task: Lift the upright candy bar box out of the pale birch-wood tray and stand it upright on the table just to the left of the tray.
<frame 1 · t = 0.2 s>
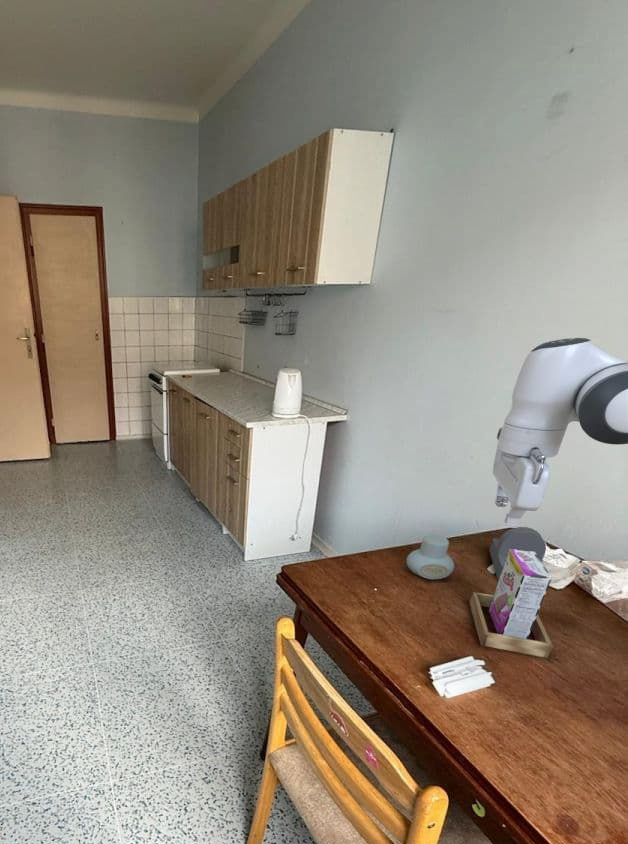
hand: (505, 514, 88), 27 cm above the table, tool pointing down, fingers open, 8 cm apart
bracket: (513, 567, 125), on the table
candy bar box: (504, 628, 102), resting in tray
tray: (505, 627, 102), on the table
air freshener: (427, 574, 122), on the table
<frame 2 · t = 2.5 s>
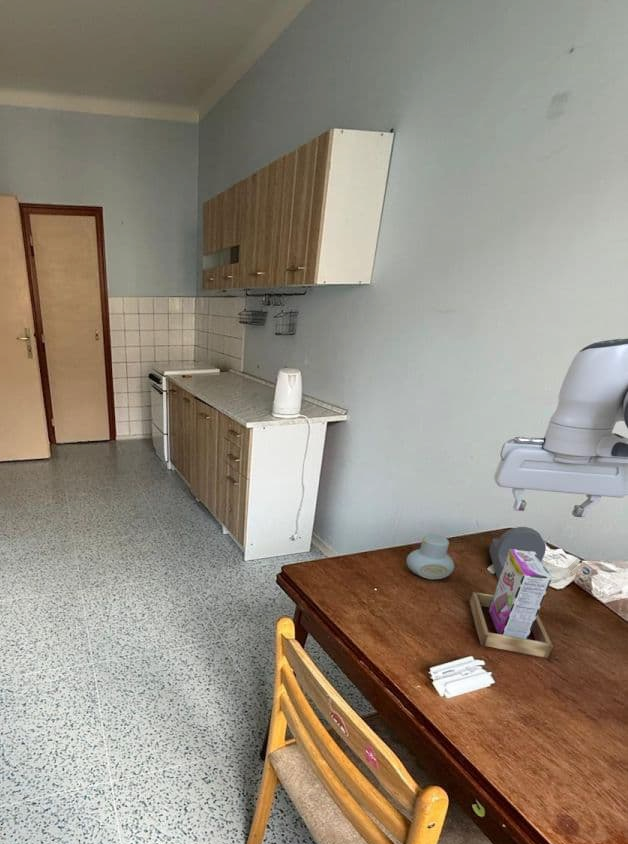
hand: (547, 512, 89), 27 cm above the table, tool pointing down, fingers open, 8 cm apart
nothing on the table moved.
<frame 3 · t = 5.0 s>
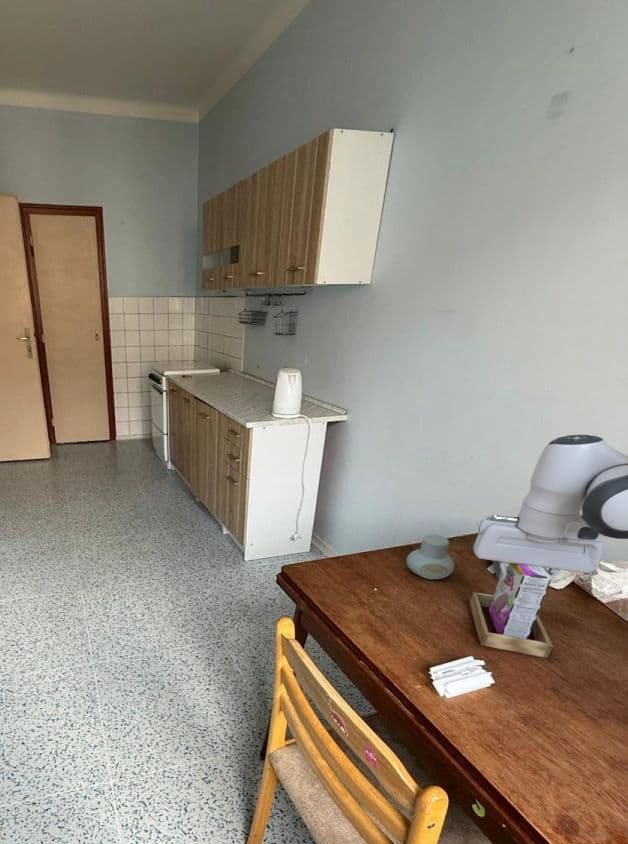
hand: (522, 582, 96), 12 cm above the table, tool pointing down, fingers closed on candy bar box, 5 cm apart
candy bar box: (504, 628, 102), resting in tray, touching gripper
everything else where it was.
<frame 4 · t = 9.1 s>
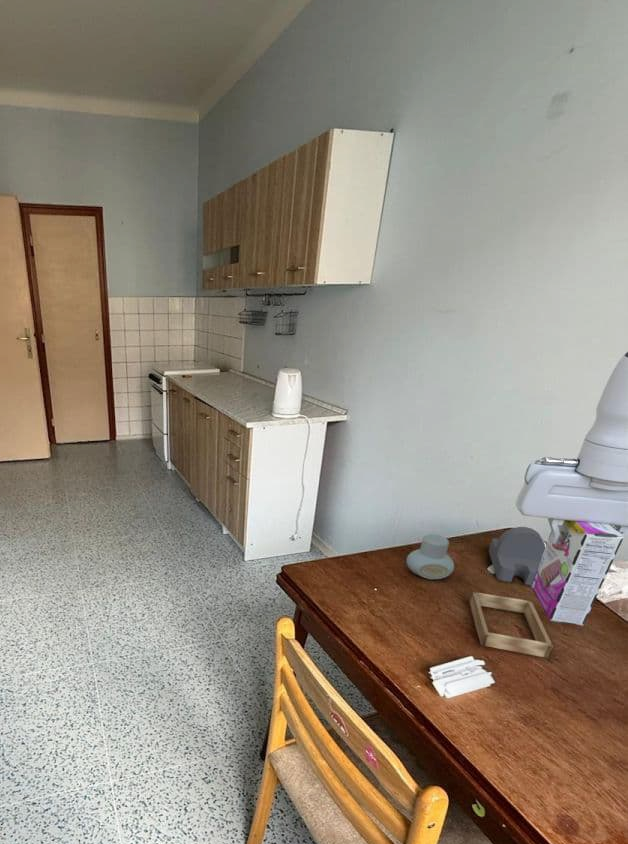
hand: (579, 545, 75), 28 cm above the table, tool pointing down, fingers closed on candy bar box, 5 cm apart
candy bar box: (553, 606, 81), point 16 cm above the table, touching gripper
everything else where it was.
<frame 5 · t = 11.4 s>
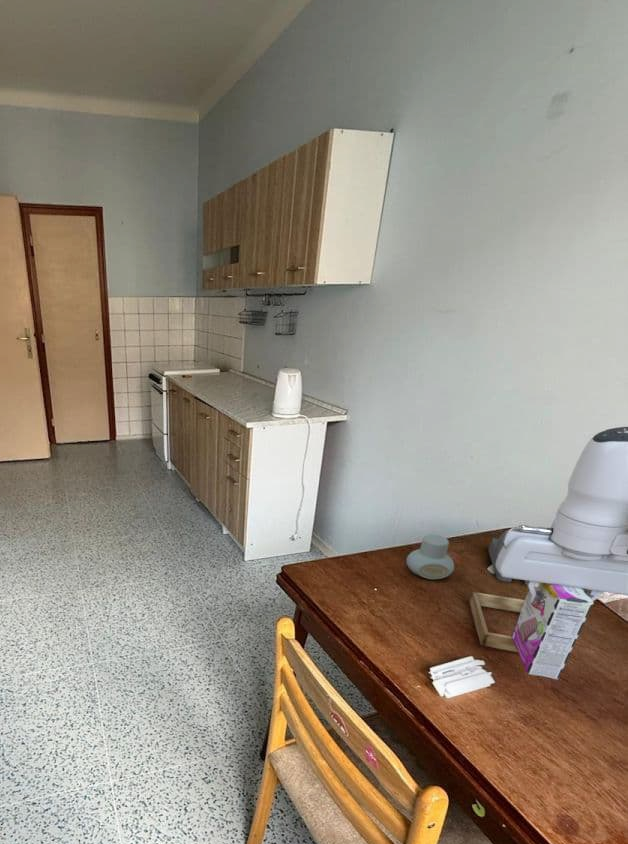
hand: (554, 605, 80), 17 cm above the table, tool pointing down, fingers closed on candy bar box, 5 cm apart
candy bar box: (531, 658, 86), point 5 cm above the table, touching gripper
everything else where it was.
when the fingers open (12 cm above the table, at t = 13.2 s): candy bar box stays where it is, on the table.
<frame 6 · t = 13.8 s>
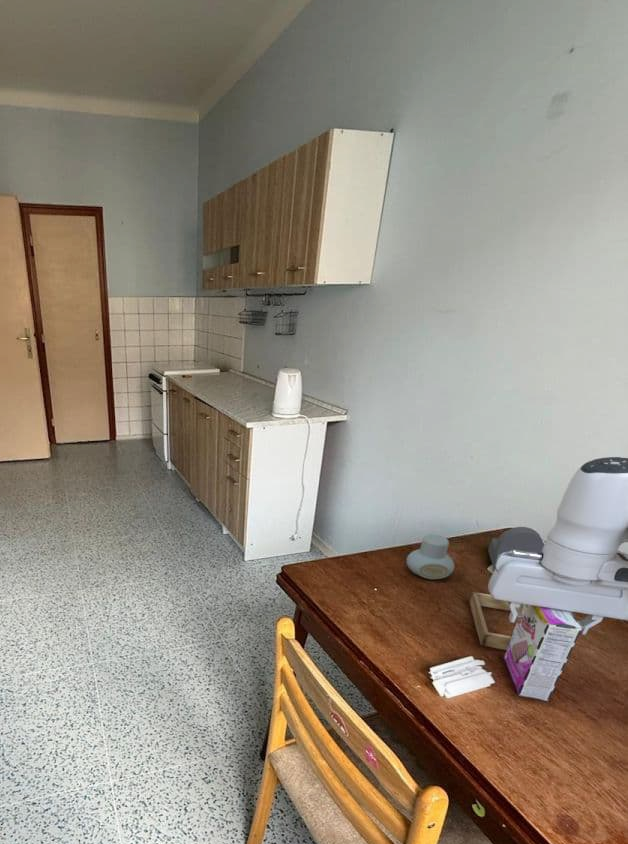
hand: (545, 626, 83), 12 cm above the table, tool pointing down, fingers open, 8 cm apart
candy bar box: (523, 679, 88), on the table
everything else where it was.
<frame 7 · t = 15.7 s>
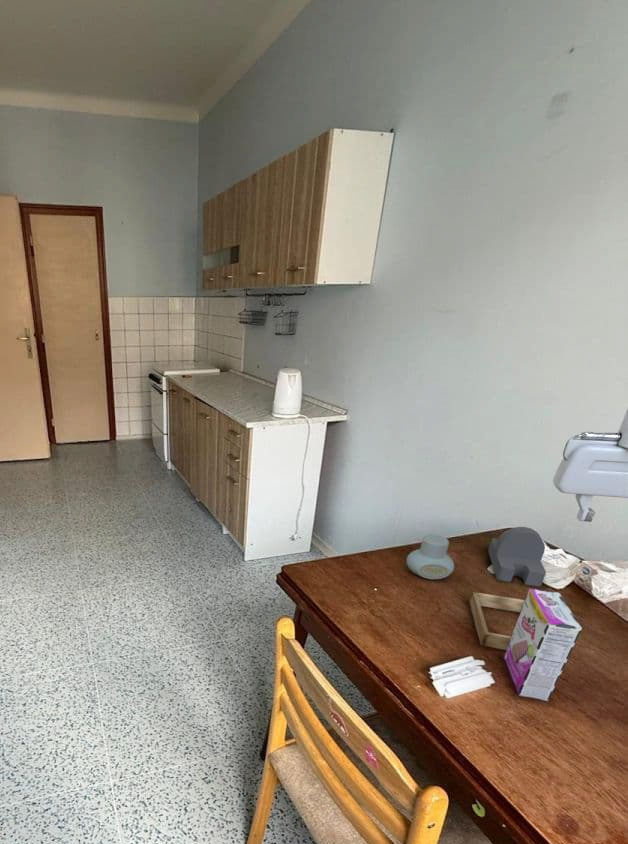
hand: (620, 523, 73), 32 cm above the table, tool pointing down, fingers open, 8 cm apart
nothing on the table moved.
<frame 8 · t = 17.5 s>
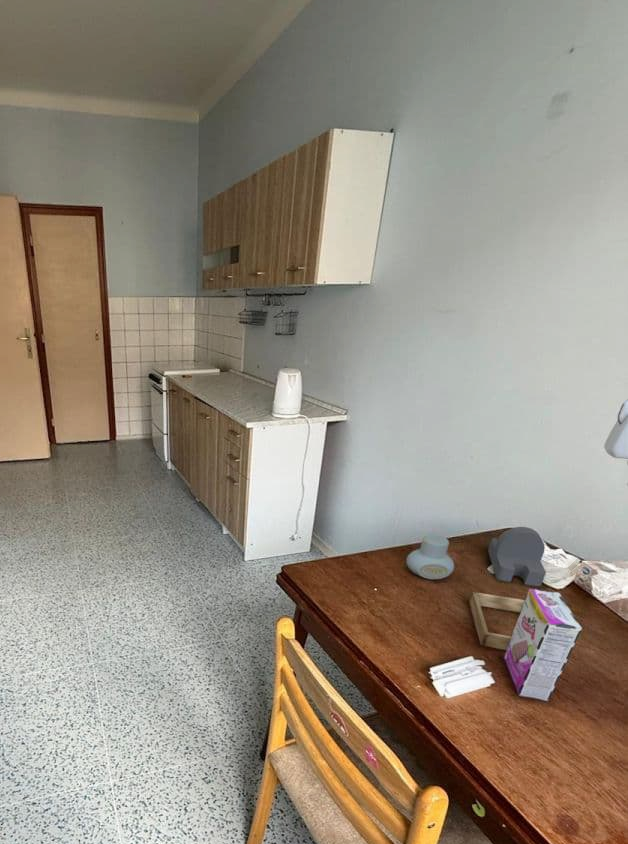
nothing on the table moved.
at the end: candy bar box inside the target area (0.1 cm from its centre), on the table; candy bar box tilted 0°; candy bar box touching table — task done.
